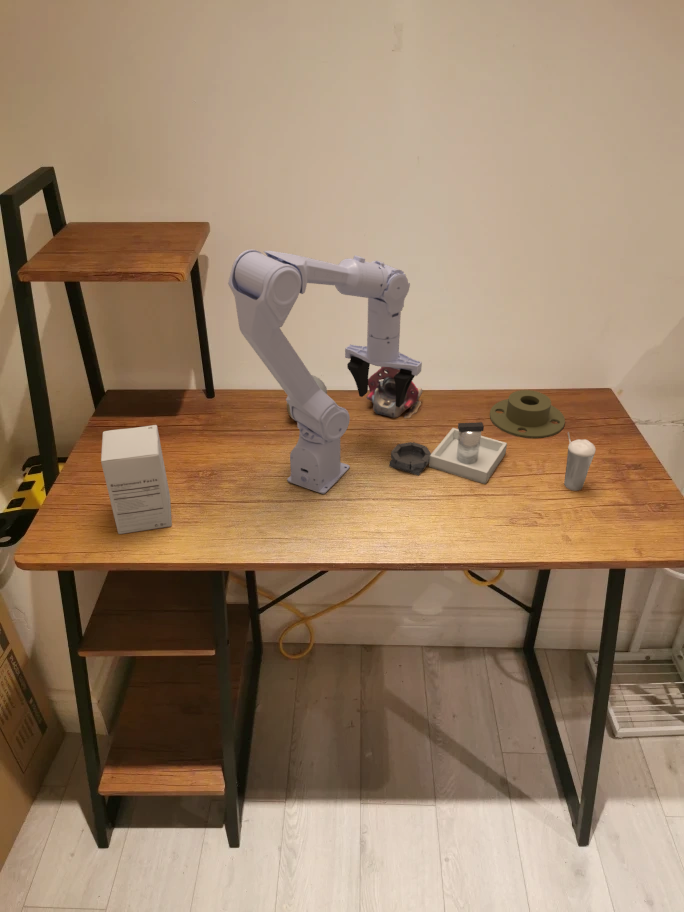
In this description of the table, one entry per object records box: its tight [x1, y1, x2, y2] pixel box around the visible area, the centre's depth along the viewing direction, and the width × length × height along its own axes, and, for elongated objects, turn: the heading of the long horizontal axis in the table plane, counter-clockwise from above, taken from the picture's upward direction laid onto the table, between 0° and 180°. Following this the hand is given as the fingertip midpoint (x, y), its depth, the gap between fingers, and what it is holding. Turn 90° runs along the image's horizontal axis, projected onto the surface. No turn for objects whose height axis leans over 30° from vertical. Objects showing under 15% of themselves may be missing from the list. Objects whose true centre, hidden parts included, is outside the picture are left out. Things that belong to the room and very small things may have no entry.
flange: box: [489, 389, 566, 439], centre depth 147 cm, size 5×15×15 cm
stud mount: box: [388, 441, 432, 476], centre depth 134 cm, size 7×7×2 cm
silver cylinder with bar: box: [456, 421, 485, 464], centre depth 133 cm, size 4×4×7 cm
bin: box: [428, 427, 508, 485], centre depth 135 cm, size 11×11×2 cm
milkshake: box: [563, 431, 596, 492], centre depth 126 cm, size 4×5×10 cm
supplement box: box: [100, 424, 173, 535], centre depth 118 cm, size 9×9×15 cm
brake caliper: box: [366, 367, 424, 419], centre depth 150 cm, size 11×11×12 cm
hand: (381, 399), depth 135 cm, fingers open, 7 cm apart
